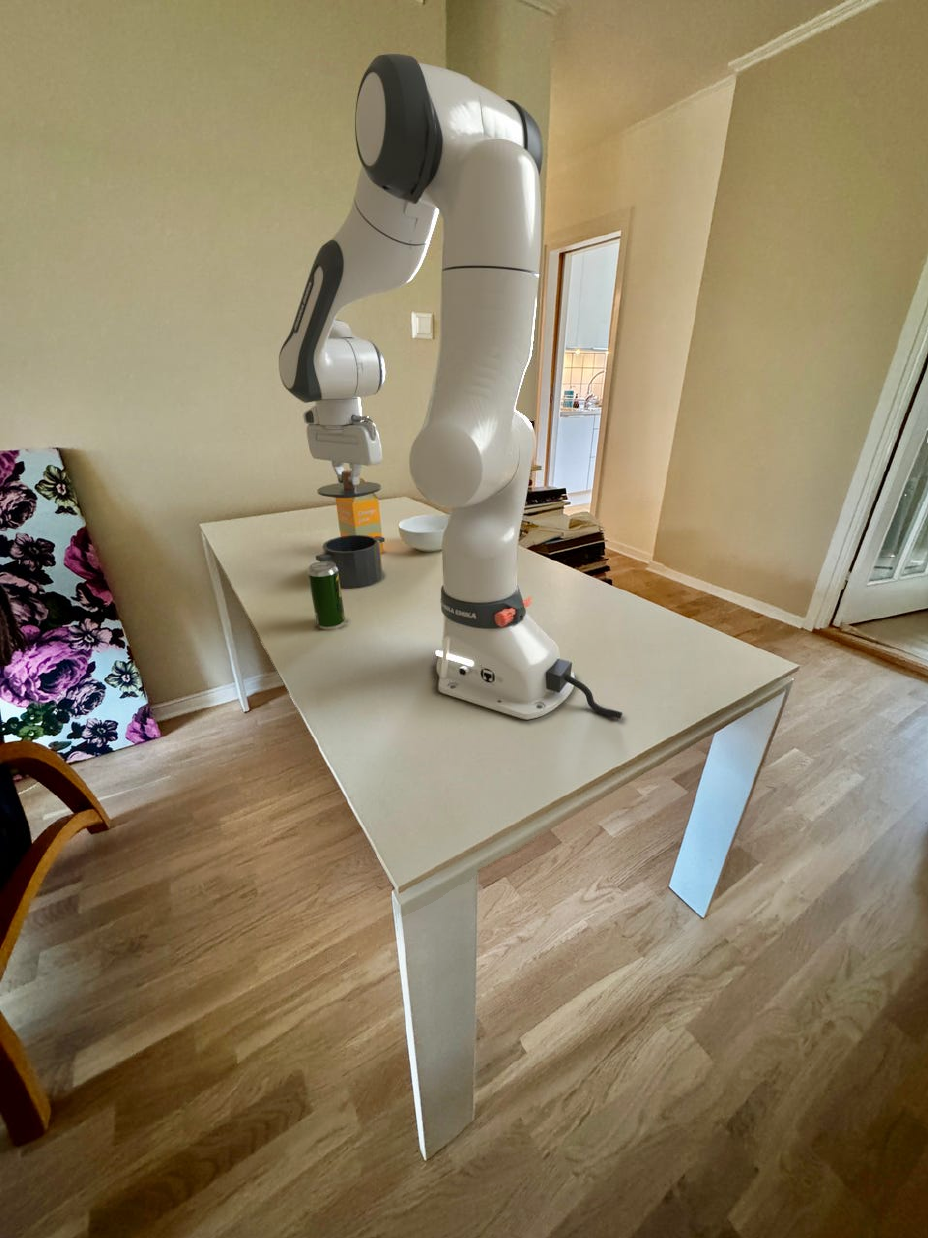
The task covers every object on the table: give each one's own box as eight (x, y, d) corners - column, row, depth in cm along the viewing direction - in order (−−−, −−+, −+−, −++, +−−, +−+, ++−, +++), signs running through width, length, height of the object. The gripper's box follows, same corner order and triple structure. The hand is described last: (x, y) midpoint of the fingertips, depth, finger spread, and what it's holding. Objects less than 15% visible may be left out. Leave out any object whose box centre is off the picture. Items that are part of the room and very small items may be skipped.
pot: (401, 572, 116) (398, 538, 113) (341, 597, 104) (335, 560, 100) (367, 561, 124) (364, 529, 120) (307, 583, 111) (301, 548, 108)
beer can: (322, 633, 90) (312, 573, 84) (313, 622, 94) (303, 564, 88) (349, 625, 92) (341, 567, 87) (339, 615, 96) (331, 558, 91)
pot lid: (394, 490, 106) (392, 469, 103) (344, 503, 96) (341, 479, 94) (354, 484, 113) (352, 463, 111) (305, 494, 104) (301, 473, 102)
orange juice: (358, 559, 125) (349, 481, 116) (342, 551, 131) (331, 476, 122) (384, 552, 130) (376, 476, 120) (367, 544, 135) (358, 472, 126)
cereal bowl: (427, 534, 143) (425, 510, 140) (472, 544, 135) (472, 519, 131) (387, 550, 131) (385, 524, 128) (434, 562, 122) (433, 535, 119)
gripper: (385, 414, 94) (392, 486, 100) (323, 412, 106) (332, 476, 112) (360, 417, 90) (369, 491, 96) (298, 414, 101) (309, 481, 108)
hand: (348, 483), depth 104 cm, fingers closed on pot lid, 2 cm apart
